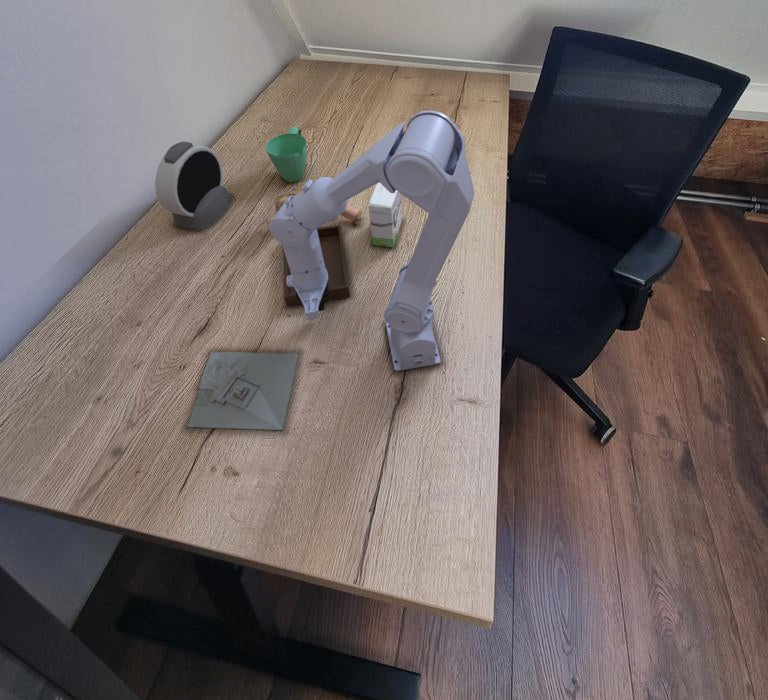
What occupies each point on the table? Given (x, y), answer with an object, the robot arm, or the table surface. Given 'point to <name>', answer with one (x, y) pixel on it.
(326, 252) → the tray
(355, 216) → the grandmother figurine
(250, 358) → the grey green square plate
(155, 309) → the table surface
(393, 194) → the ink box
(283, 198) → the lion figurine
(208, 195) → the alarm clock
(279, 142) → the mug
